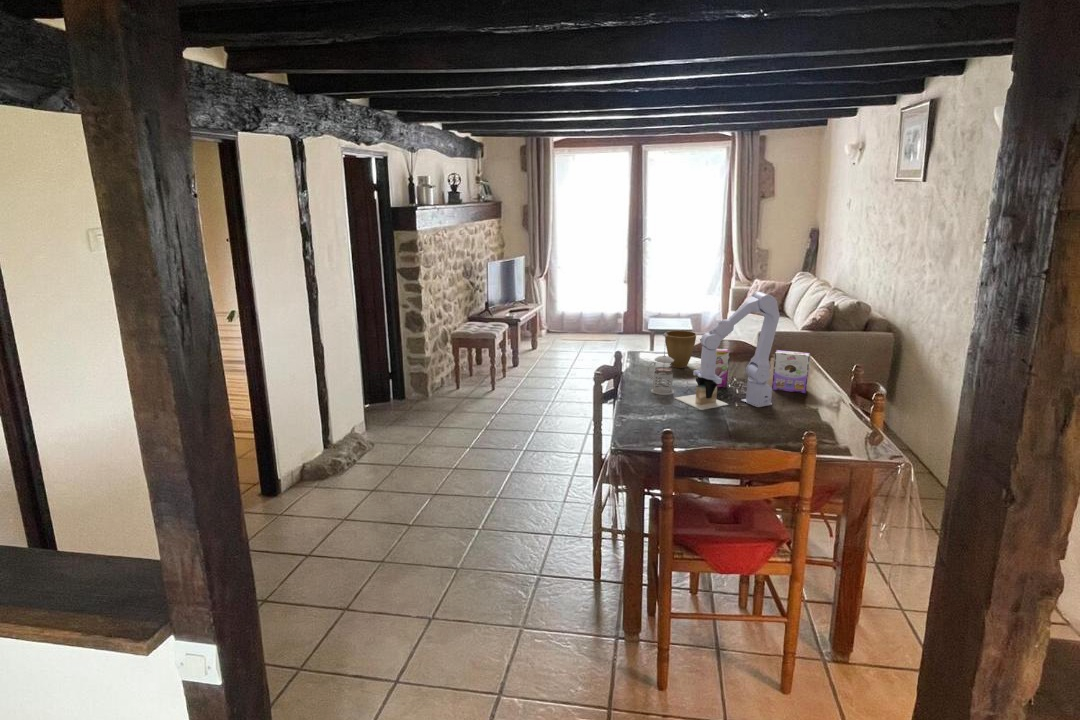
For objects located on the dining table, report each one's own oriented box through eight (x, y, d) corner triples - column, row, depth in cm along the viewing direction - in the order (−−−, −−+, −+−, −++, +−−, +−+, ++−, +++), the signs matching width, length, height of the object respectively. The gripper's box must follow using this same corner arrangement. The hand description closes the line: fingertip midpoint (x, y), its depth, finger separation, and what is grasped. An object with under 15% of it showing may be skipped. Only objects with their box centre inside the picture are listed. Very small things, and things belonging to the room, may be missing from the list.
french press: (672, 395, 276) (676, 336, 270) (644, 392, 280) (647, 334, 274) (675, 389, 285) (679, 331, 279) (648, 386, 289) (651, 329, 283)
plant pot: (676, 360, 333) (678, 329, 329) (700, 366, 322) (703, 334, 318) (656, 365, 324) (658, 332, 320) (680, 371, 313) (683, 338, 309)
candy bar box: (700, 387, 288) (703, 350, 284) (699, 384, 293) (701, 347, 289) (727, 388, 287) (730, 351, 283) (725, 385, 292) (728, 348, 288)
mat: (728, 405, 265) (728, 404, 265) (700, 409, 259) (700, 409, 259) (701, 394, 279) (701, 393, 279) (674, 398, 273) (674, 397, 273)
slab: (716, 402, 267) (717, 385, 266) (700, 404, 264) (701, 387, 262) (711, 400, 270) (712, 383, 268) (695, 402, 266) (696, 385, 265)
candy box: (806, 390, 286) (811, 352, 282) (805, 393, 281) (810, 355, 277) (772, 386, 291) (776, 349, 287) (771, 389, 286) (774, 352, 282)
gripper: (688, 360, 267) (686, 393, 271) (712, 369, 255) (710, 403, 258) (702, 358, 270) (699, 390, 274) (727, 367, 258) (724, 400, 261)
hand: (705, 396), depth 266 cm, fingers closed on slab, 3 cm apart
